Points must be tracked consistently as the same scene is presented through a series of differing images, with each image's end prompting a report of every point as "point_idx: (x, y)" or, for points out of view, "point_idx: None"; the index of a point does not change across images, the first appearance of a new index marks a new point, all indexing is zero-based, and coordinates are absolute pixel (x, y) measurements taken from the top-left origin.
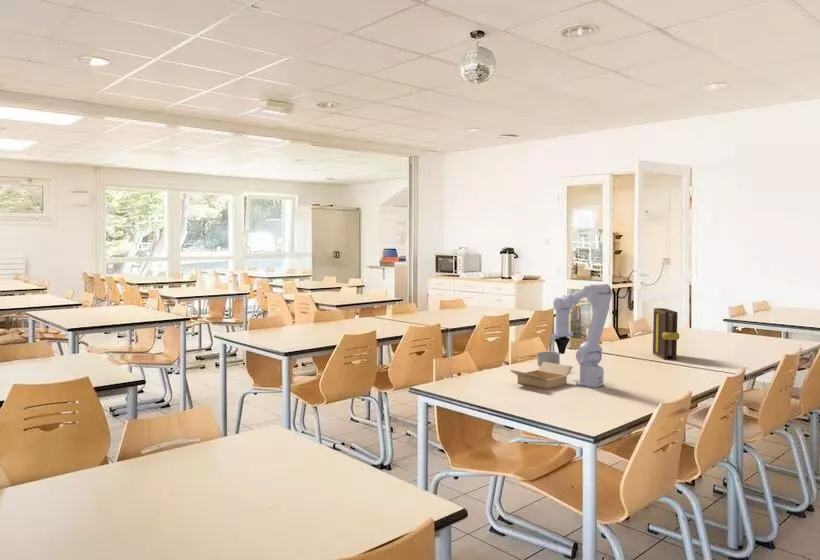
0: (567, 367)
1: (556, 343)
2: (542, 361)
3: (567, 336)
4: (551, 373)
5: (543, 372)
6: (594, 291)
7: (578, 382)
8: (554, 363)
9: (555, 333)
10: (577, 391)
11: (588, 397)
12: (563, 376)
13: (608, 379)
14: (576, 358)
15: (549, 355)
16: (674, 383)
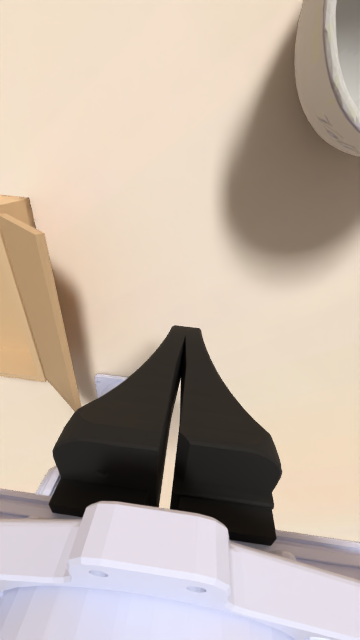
0: (67, 391)
1: (122, 384)
2: (306, 5)
3: (315, 553)
4: (19, 316)
5: (7, 266)
6: None
7: (111, 380)
8: (337, 146)
9: (16, 586)
10: (28, 404)
11: (9, 436)
12: (22, 378)
13: (260, 416)
14: (44, 478)
15: (338, 94)
16: (312, 514)
